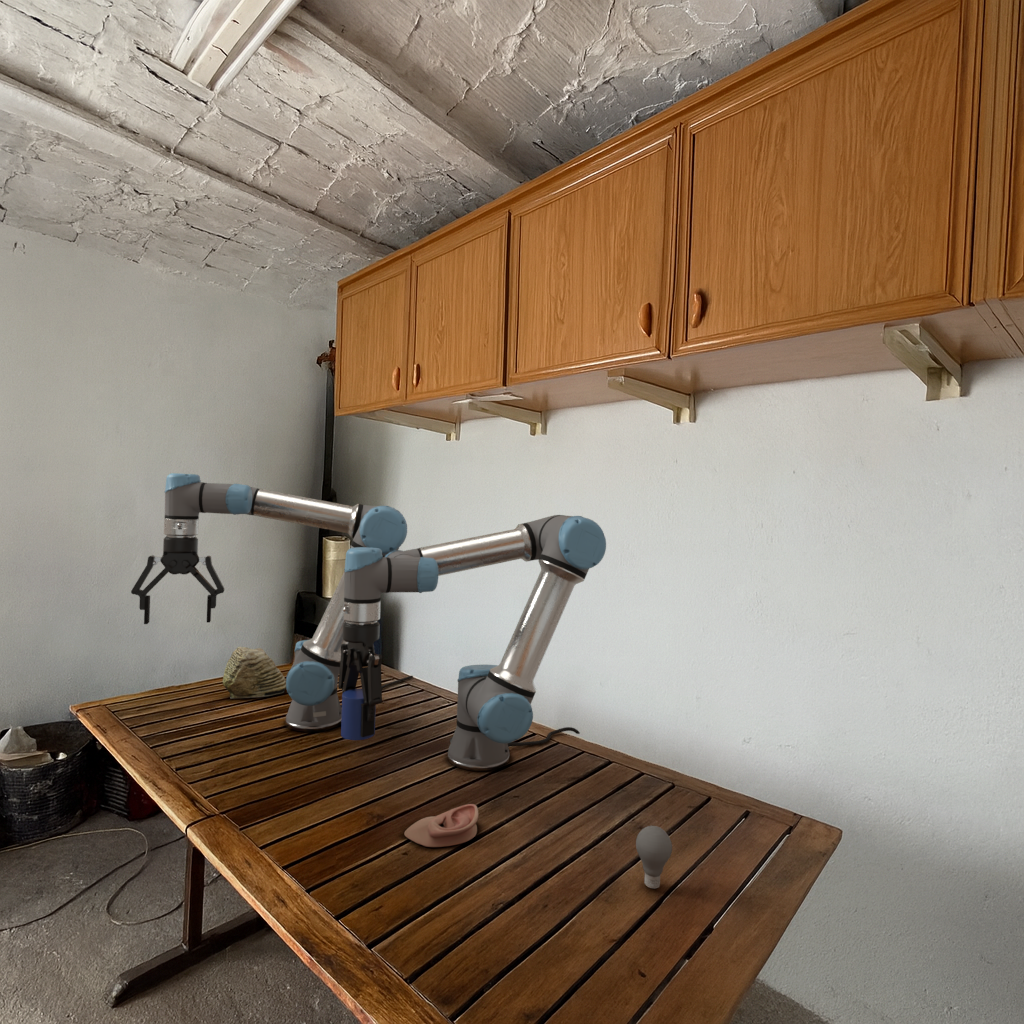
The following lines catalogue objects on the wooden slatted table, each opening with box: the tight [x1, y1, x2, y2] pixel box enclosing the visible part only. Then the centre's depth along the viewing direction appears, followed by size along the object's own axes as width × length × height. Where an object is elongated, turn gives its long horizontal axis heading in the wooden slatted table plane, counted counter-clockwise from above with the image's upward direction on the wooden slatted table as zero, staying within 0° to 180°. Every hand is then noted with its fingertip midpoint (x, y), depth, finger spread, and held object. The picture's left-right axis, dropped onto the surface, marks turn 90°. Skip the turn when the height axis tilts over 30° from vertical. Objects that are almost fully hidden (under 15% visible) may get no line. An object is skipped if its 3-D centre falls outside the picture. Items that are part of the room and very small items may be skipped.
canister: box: [340, 688, 377, 741], centre depth 133 cm, size 7×7×9 cm
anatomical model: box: [404, 803, 479, 848], centre depth 121 cm, size 13×4×12 cm
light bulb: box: [635, 825, 673, 889], centre depth 107 cm, size 6×6×10 cm
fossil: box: [222, 646, 287, 699], centre depth 198 cm, size 9×18×15 cm, turn 132°
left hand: (178, 622), depth 156 cm, fingers open, 13 cm apart
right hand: (358, 729), depth 133 cm, fingers closed on canister, 7 cm apart
